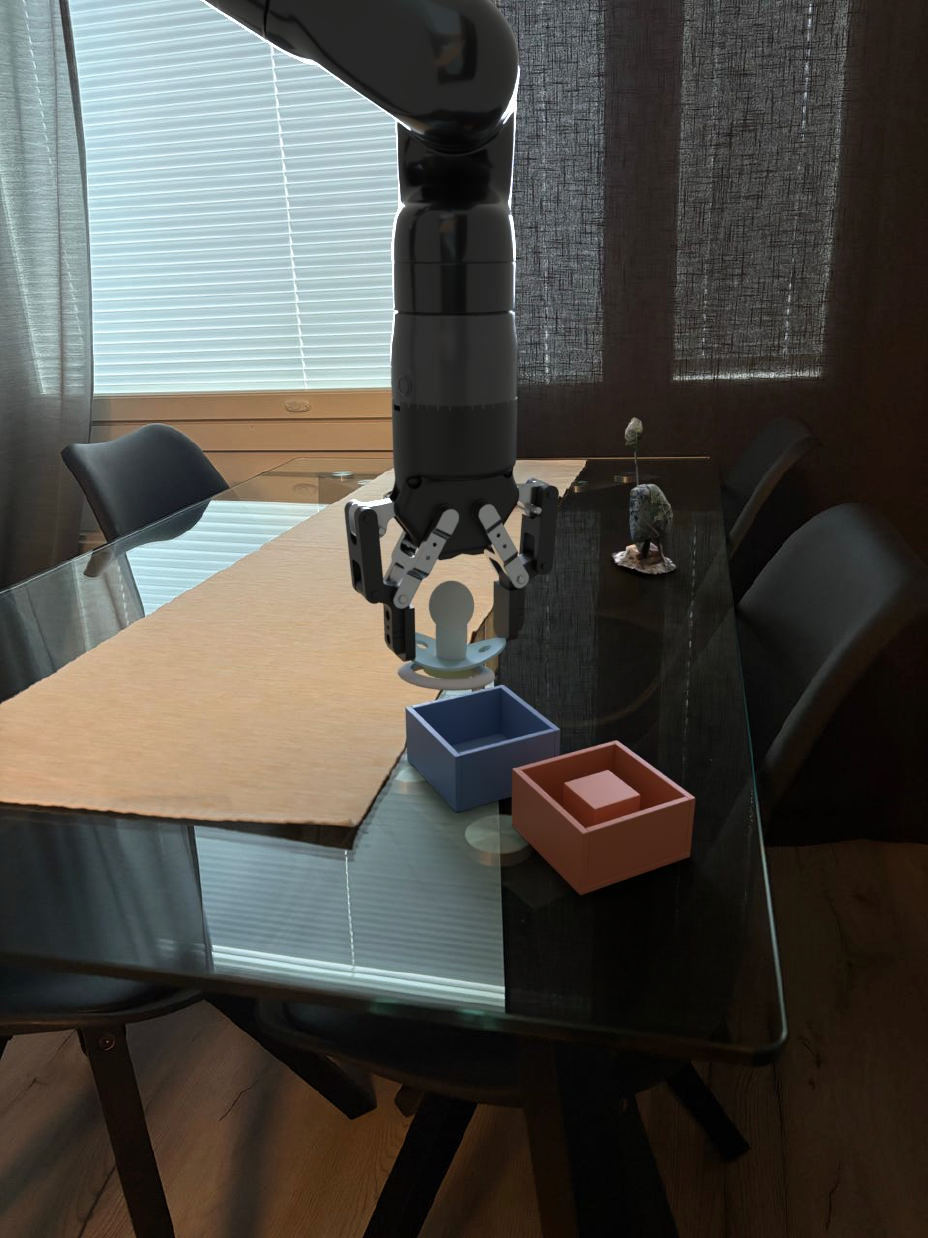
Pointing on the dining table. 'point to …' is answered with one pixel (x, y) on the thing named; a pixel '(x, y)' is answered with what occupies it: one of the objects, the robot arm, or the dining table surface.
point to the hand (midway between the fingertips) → (455, 646)
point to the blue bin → (477, 744)
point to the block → (599, 799)
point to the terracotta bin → (611, 844)
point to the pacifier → (451, 645)
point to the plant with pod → (645, 519)
